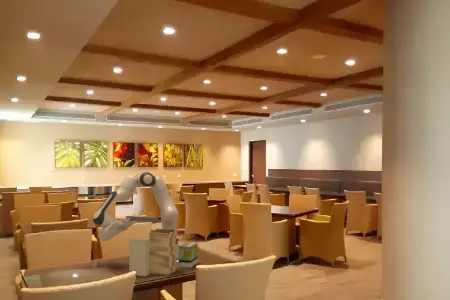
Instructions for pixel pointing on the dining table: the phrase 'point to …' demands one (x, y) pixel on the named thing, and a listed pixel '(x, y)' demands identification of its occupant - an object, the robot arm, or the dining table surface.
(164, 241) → the stand
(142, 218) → the bar
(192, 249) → the tea box
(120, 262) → the dining table surface
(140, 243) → the block
